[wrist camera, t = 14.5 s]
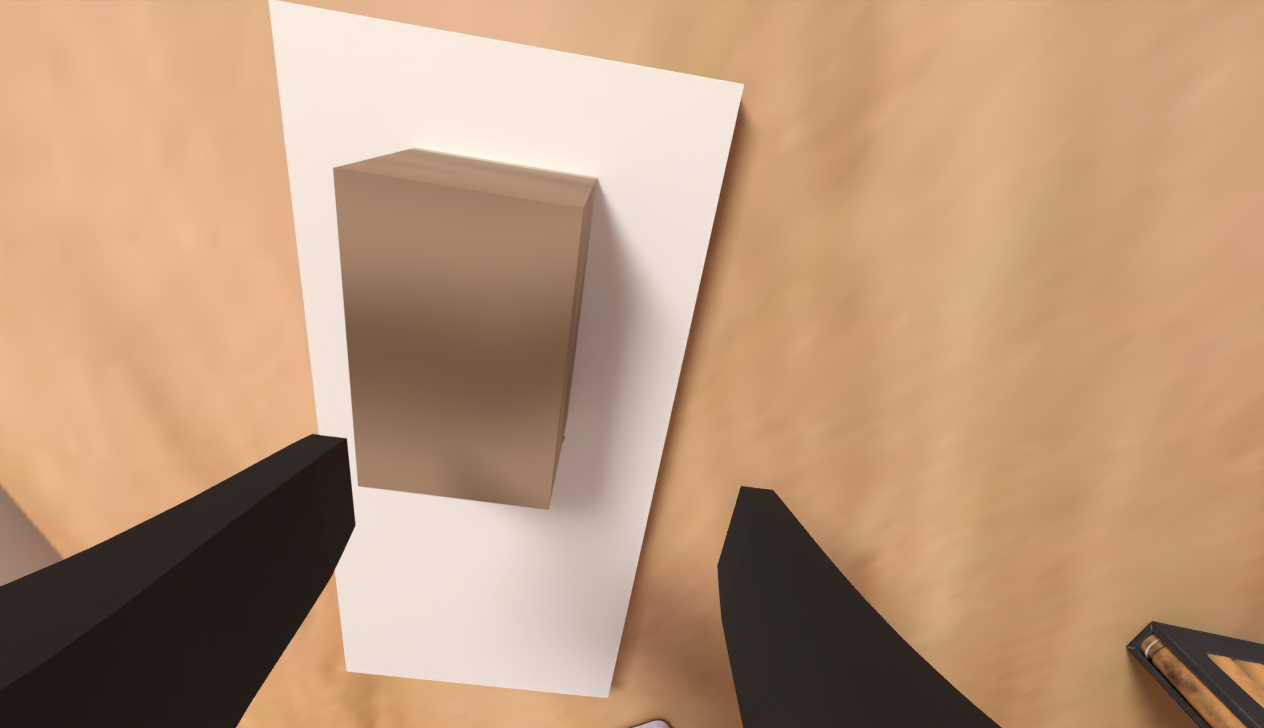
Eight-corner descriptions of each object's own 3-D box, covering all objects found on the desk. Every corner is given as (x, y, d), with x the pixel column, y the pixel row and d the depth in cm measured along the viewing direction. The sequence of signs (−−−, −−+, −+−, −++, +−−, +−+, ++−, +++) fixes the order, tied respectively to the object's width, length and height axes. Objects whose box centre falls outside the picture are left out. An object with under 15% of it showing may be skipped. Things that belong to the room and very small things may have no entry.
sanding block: (567, 418, 19) (548, 509, 15) (419, 398, 19) (358, 486, 14) (597, 177, 15) (583, 207, 11) (415, 147, 15) (333, 167, 11)
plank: (608, 673, 27) (607, 699, 26) (358, 647, 26) (346, 672, 25) (736, 84, 15) (744, 84, 14) (295, 5, 15) (267, -2, 13)
